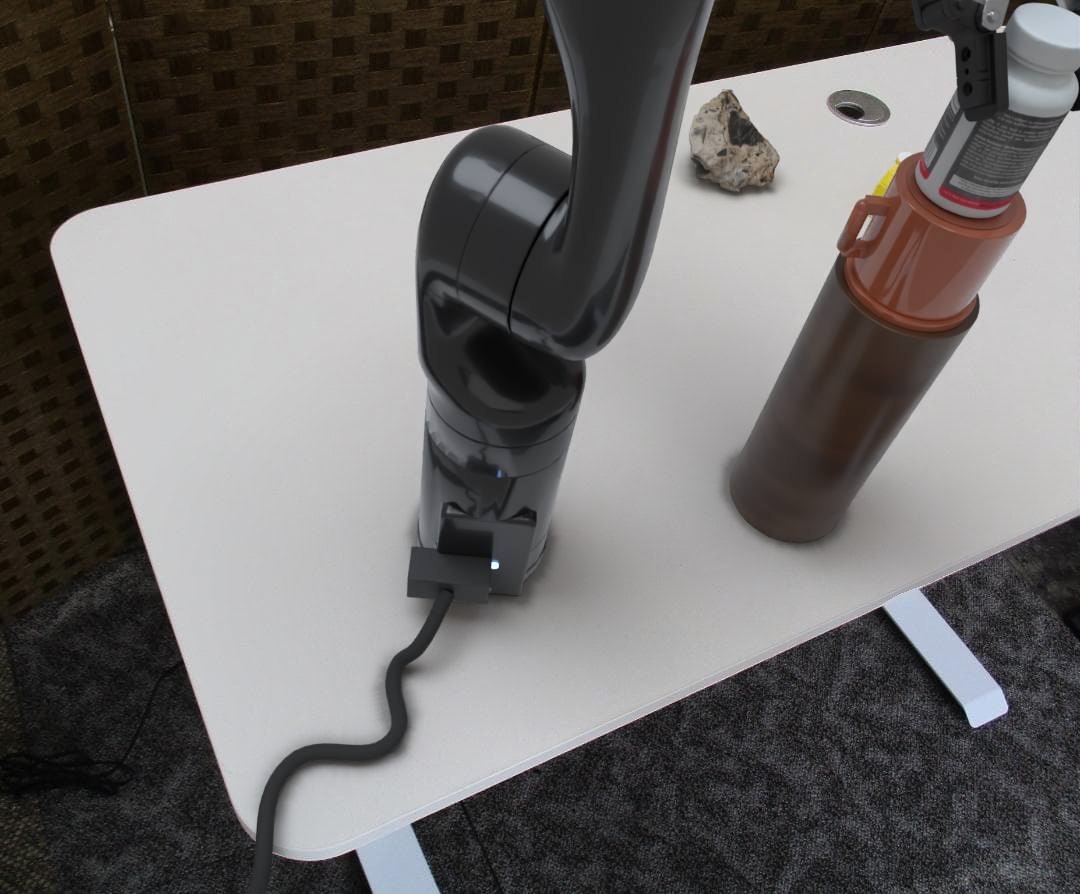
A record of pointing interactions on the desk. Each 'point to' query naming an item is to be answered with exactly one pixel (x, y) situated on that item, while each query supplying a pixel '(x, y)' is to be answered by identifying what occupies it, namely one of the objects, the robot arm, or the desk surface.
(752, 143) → the rock
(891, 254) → the upturned cup
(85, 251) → the desk surface
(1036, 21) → the pill bottle
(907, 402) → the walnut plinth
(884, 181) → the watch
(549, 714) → the desk surface
